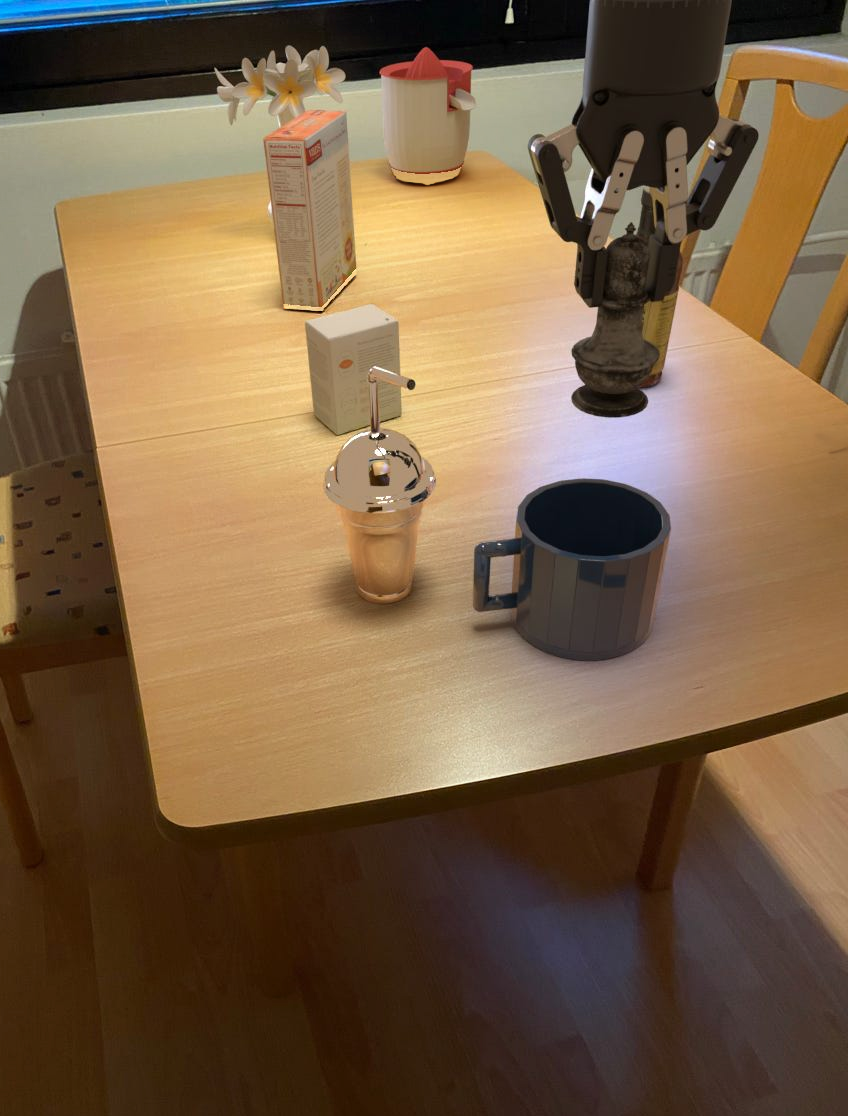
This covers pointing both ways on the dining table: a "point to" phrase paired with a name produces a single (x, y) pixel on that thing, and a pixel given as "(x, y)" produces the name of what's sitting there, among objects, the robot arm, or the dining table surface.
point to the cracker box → (311, 205)
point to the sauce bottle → (661, 312)
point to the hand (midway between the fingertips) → (622, 299)
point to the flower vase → (282, 86)
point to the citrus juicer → (426, 113)
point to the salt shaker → (617, 336)
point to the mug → (581, 568)
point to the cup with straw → (380, 500)
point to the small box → (352, 366)
